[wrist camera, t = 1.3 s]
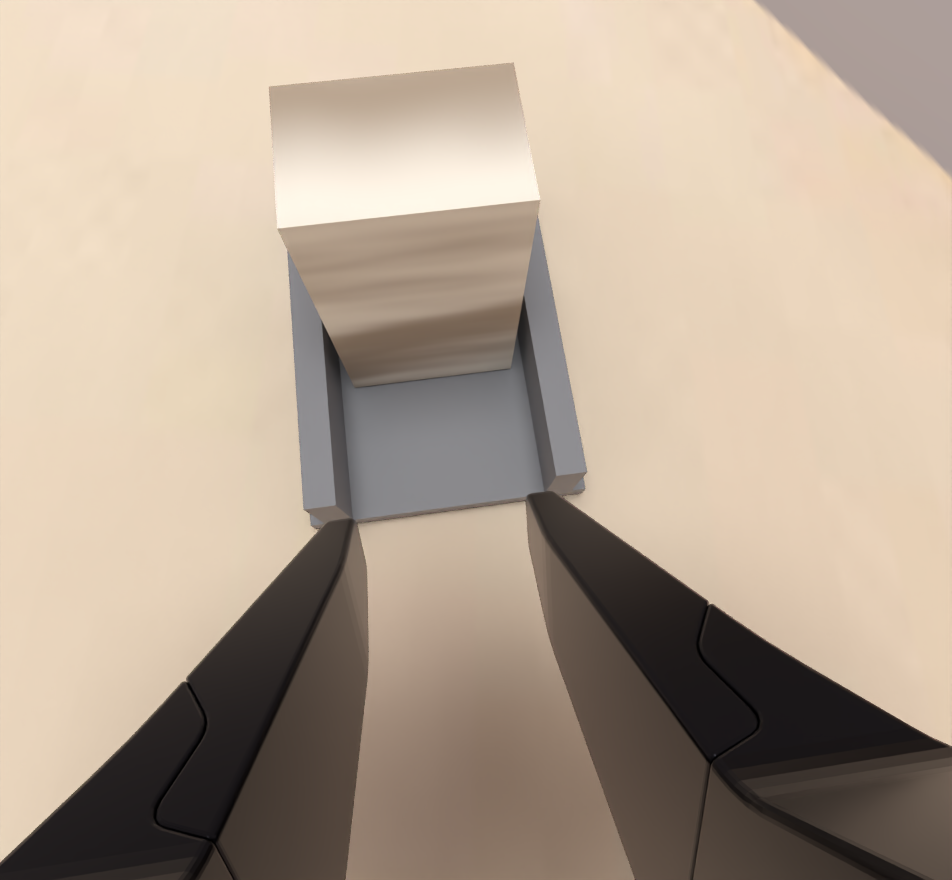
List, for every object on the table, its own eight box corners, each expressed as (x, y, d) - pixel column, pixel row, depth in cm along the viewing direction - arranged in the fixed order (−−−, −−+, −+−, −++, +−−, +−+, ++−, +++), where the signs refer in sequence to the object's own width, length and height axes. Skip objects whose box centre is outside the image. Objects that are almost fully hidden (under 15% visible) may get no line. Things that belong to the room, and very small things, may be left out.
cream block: (510, 368, 24) (540, 199, 14) (354, 387, 24) (276, 228, 14) (495, 276, 25) (513, 62, 15) (346, 294, 25) (268, 86, 15)
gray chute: (581, 493, 23) (602, 470, 20) (316, 528, 23) (287, 511, 19) (523, 182, 27) (531, 114, 24) (294, 207, 27) (267, 142, 23)
